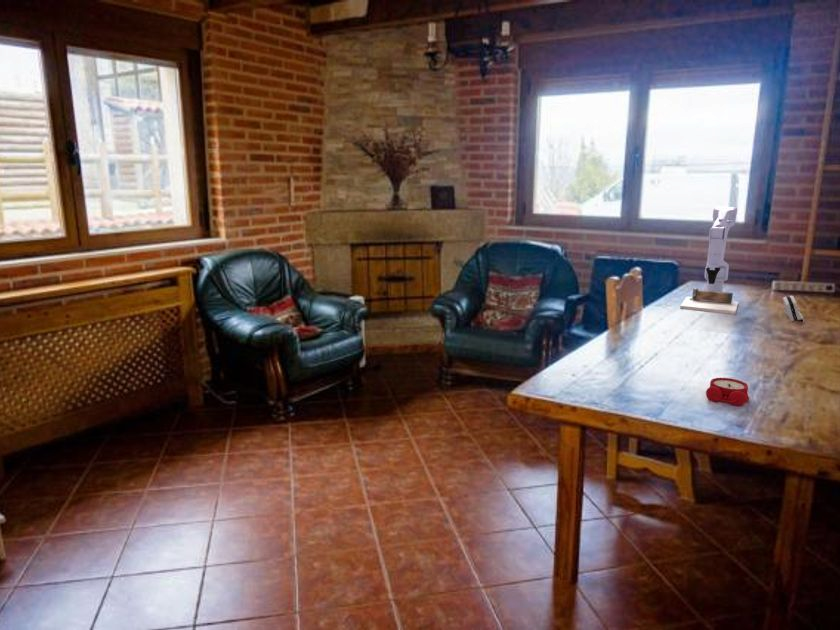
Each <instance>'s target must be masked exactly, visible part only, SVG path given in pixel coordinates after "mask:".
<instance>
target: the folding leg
mask: <svg viewBox="0 0 840 630" xmlns="http://www.w3.org/2000/svg"><path fill="white" fill-rule="evenodd" d="M733 294H734V293H733V292H728V293H726V291H723V292H716V291H706V289H705V290H702V289H699V288H695V287H694V288H693V289H692V296H691V297H692V299H698V300H708V301H717V302H727V303H731V302H732V301H733Z"/></svg>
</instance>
